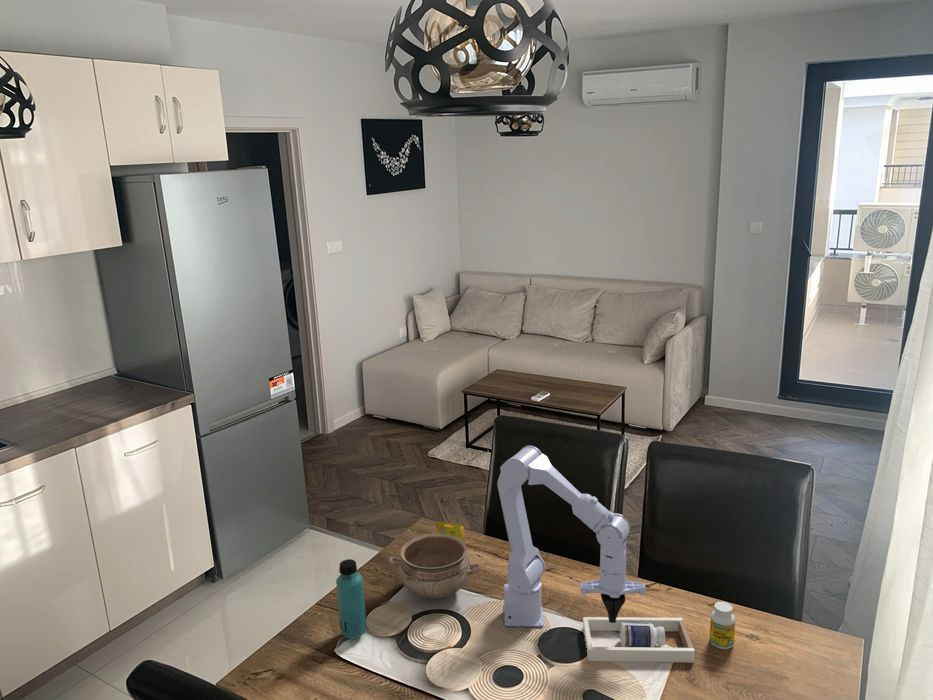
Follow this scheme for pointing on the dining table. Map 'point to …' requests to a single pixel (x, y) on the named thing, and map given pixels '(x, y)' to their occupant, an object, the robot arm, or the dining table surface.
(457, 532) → the crayon box
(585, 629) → the corral
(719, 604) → the supplement bottle
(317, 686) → the dining table surface
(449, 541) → the cooking pot
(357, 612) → the beverage bottle
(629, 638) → the pill bottle
